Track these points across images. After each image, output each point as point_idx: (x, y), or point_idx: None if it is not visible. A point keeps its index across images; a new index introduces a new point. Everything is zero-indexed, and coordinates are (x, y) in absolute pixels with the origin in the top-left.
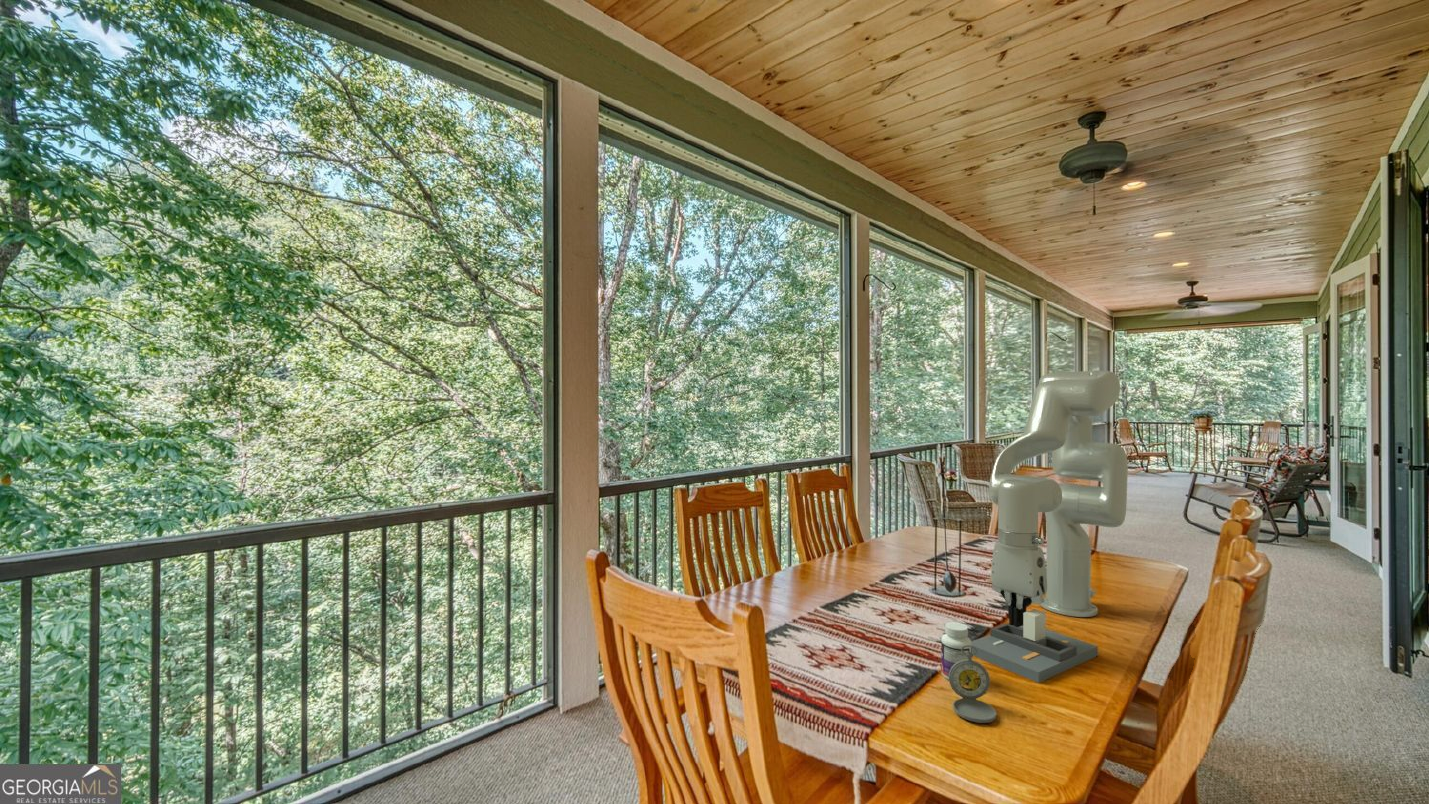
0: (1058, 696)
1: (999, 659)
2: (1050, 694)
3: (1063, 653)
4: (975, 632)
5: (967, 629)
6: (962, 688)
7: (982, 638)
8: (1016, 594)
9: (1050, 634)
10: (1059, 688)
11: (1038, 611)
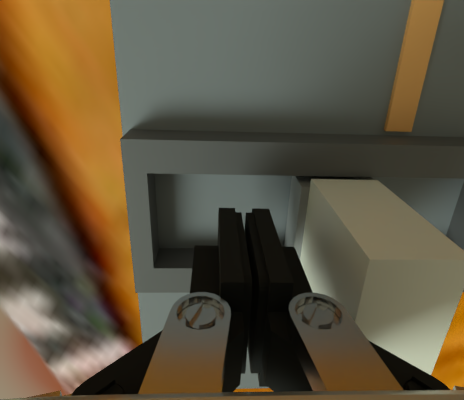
0: (458, 373)
1: None
2: (440, 379)
3: None
4: (17, 181)
5: None
6: None
7: (146, 317)
8: (220, 390)
9: None
10: (451, 337)
11: (414, 277)
